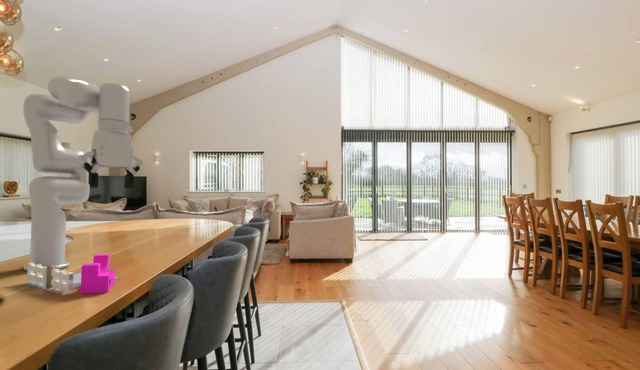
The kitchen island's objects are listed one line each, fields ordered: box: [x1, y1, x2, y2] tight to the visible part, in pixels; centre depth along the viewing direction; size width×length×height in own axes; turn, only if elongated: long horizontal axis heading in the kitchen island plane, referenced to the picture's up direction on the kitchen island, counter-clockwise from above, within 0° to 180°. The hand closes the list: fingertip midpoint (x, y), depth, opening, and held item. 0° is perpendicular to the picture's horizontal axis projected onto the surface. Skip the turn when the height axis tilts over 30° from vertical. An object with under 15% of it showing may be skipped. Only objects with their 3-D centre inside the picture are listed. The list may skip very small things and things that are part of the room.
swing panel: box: [26, 262, 47, 286], centre depth 100 cm, size 10×1×5 cm, turn 61°
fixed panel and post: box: [46, 265, 74, 294], centre depth 95 cm, size 11×2×6 cm, turn 61°
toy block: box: [79, 253, 116, 295], centre depth 100 cm, size 15×6×8 cm, turn 21°
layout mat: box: [25, 272, 120, 294], centre depth 105 cm, size 16×18×1 cm
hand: (111, 187), depth 100 cm, fingers open, 9 cm apart
